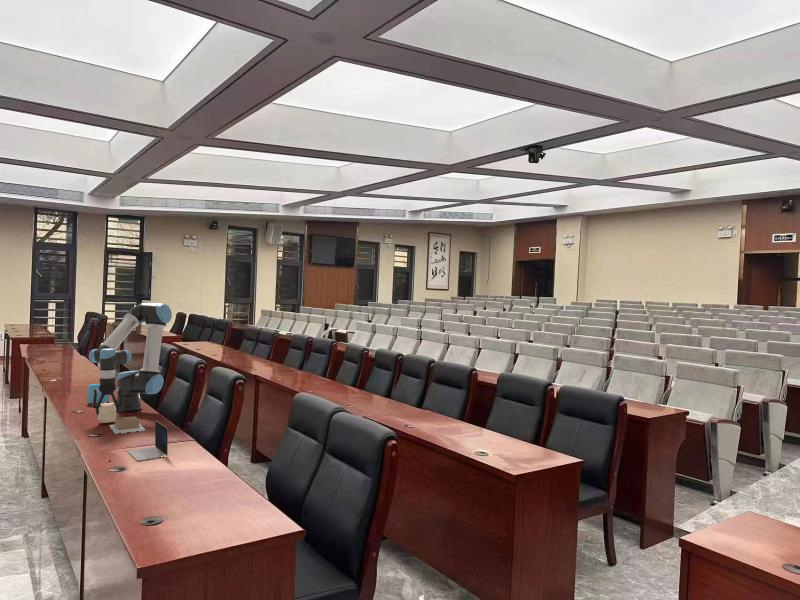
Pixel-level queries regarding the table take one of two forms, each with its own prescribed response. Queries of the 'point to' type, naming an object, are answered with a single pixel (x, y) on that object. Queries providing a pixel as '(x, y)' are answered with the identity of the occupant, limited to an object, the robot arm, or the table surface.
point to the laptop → (160, 445)
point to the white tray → (126, 425)
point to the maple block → (107, 412)
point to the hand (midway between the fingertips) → (107, 419)
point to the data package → (91, 394)
